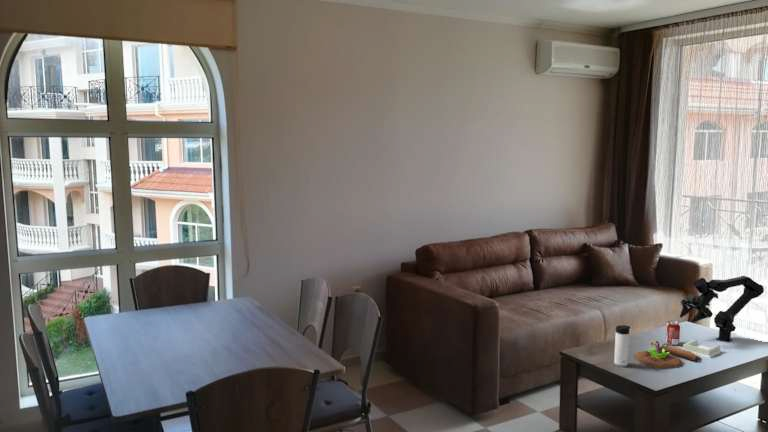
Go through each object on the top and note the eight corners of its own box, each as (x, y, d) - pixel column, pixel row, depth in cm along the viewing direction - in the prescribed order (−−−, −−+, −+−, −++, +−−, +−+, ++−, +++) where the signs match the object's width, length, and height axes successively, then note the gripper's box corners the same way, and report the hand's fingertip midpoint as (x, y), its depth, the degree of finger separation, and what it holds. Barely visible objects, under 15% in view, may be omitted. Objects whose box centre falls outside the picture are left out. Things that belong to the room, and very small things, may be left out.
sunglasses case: (703, 358, 297) (701, 349, 295) (697, 368, 294) (694, 358, 292) (669, 348, 312) (666, 339, 309) (663, 357, 309) (660, 348, 306)
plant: (627, 358, 300) (628, 336, 298) (655, 352, 307) (656, 332, 306) (658, 371, 281) (660, 349, 280) (688, 366, 289) (689, 344, 287)
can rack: (693, 345, 318) (693, 338, 317) (720, 352, 307) (721, 345, 306) (681, 350, 310) (682, 343, 309) (709, 357, 299) (710, 351, 298)
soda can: (680, 346, 315) (681, 324, 314) (667, 345, 317) (668, 324, 315) (677, 342, 322) (678, 321, 321) (663, 341, 323) (665, 320, 322)
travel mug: (627, 368, 285) (629, 328, 283) (612, 365, 289) (614, 326, 286) (629, 364, 290) (631, 325, 288) (615, 361, 294) (617, 323, 292)
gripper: (684, 285, 327) (666, 305, 327) (709, 293, 309) (689, 314, 308) (695, 297, 330) (677, 318, 329) (721, 306, 312) (701, 328, 311)
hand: (686, 319), depth 319 cm, fingers open, 9 cm apart
